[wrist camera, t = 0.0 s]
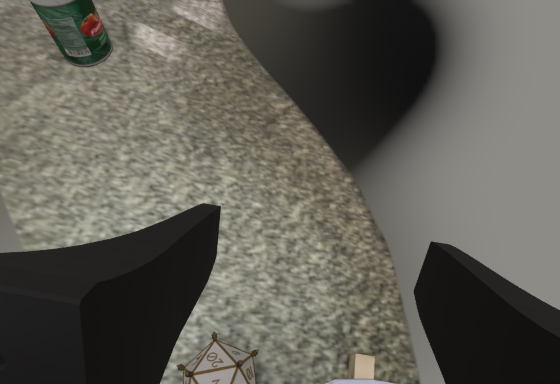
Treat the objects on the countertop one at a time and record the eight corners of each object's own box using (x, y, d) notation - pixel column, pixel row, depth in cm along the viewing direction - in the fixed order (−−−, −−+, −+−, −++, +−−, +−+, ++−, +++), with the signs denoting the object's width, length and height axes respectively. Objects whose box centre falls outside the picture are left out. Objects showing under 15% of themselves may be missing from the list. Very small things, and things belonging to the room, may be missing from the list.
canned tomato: (57, 43, 60) (18, -20, 50) (103, 28, 62) (74, -35, 52) (72, 73, 57) (33, 12, 47) (119, 56, 59) (91, -6, 50)
